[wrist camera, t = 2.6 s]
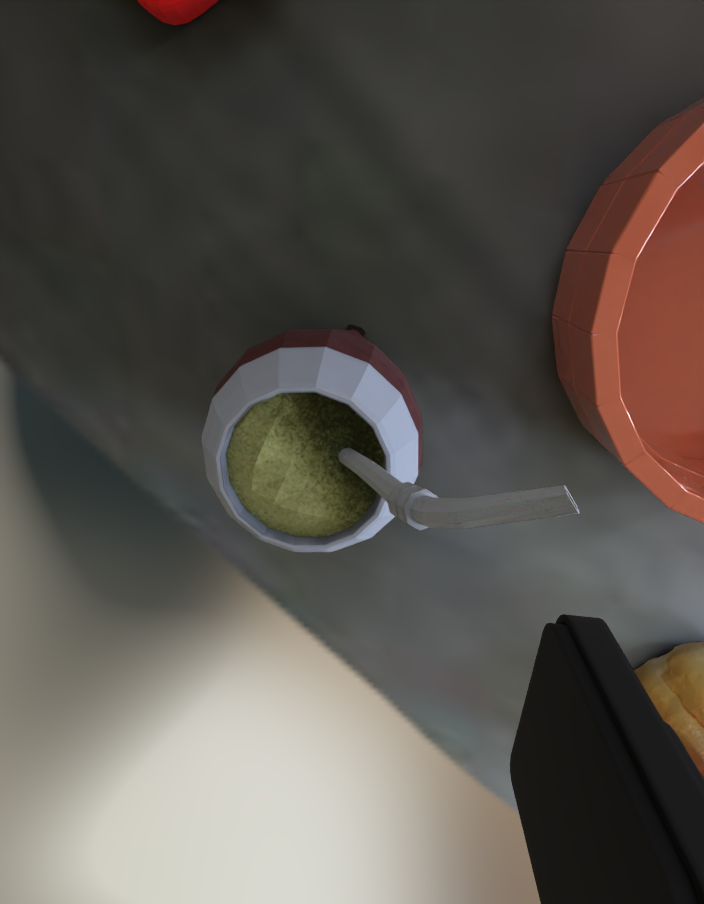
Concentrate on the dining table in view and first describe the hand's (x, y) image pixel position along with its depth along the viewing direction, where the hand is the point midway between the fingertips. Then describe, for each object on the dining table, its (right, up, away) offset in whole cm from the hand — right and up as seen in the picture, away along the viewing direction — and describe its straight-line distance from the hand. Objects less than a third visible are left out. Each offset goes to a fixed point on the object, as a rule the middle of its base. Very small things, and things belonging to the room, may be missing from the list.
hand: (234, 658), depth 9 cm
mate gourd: (+1, +6, +15) cm, 16 cm away
